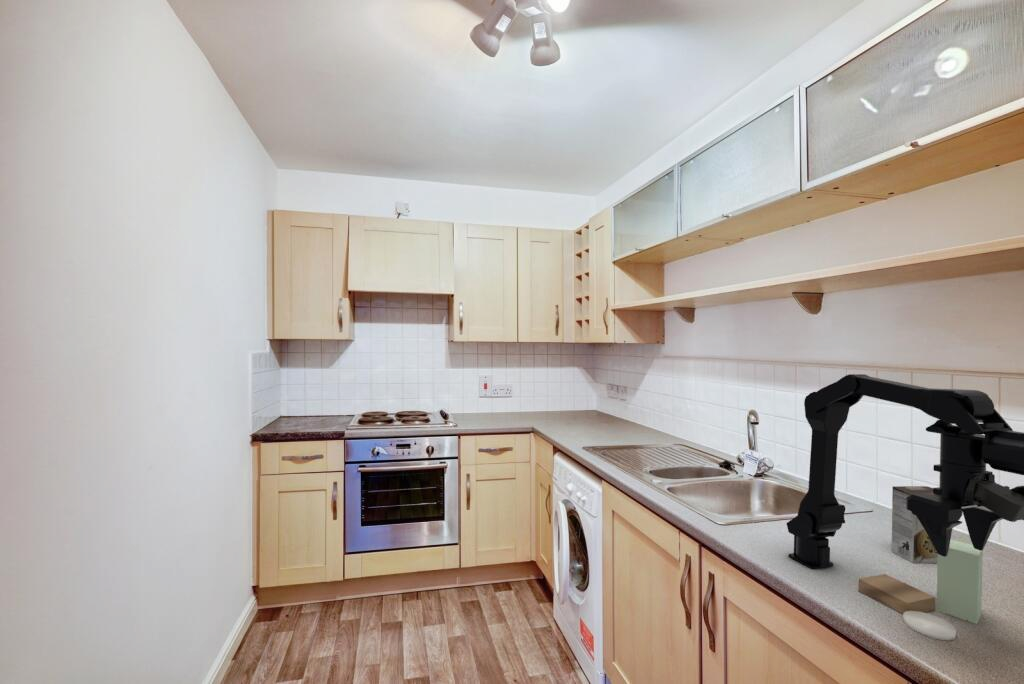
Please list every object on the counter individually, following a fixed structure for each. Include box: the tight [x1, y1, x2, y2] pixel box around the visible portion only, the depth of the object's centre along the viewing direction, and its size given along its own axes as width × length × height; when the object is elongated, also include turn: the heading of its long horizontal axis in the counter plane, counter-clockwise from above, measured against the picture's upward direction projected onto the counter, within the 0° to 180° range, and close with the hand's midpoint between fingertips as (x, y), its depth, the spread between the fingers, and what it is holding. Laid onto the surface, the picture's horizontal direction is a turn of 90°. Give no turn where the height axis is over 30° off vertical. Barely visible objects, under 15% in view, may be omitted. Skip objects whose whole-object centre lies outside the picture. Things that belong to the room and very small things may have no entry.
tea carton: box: [935, 538, 984, 625], centre depth 88 cm, size 6×6×12 cm
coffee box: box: [890, 485, 942, 564], centre depth 110 cm, size 9×6×16 cm
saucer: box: [902, 611, 957, 642], centre depth 82 cm, size 7×7×1 cm
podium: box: [857, 573, 936, 615], centre depth 91 cm, size 9×8×2 cm
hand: (960, 552), depth 80 cm, fingers open, 9 cm apart
